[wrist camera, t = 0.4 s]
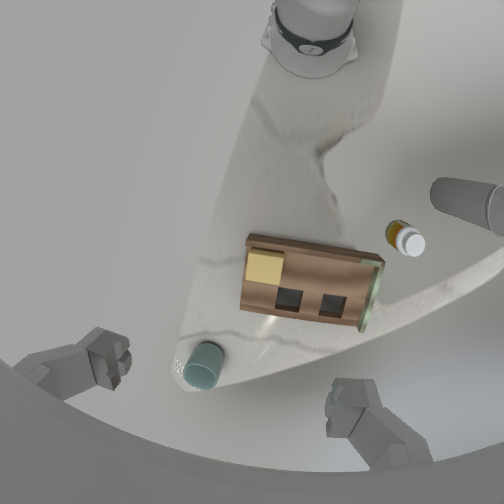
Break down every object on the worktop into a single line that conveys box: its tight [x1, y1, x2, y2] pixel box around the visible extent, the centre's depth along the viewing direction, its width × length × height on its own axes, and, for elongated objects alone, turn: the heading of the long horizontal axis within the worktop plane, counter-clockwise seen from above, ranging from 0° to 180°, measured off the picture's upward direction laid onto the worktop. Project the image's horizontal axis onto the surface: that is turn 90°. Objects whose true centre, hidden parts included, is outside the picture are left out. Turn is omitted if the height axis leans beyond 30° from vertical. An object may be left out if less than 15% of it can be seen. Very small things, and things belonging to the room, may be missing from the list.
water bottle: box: [430, 177, 504, 237], centre depth 34 cm, size 9×8×25 cm
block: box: [245, 246, 284, 285], centre depth 51 cm, size 5×6×5 cm
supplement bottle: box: [385, 220, 425, 257], centre depth 46 cm, size 5×5×10 cm
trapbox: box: [240, 234, 385, 333], centre depth 53 cm, size 16×26×6 cm, turn 83°
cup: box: [183, 343, 224, 390], centre depth 59 cm, size 8×8×10 cm
